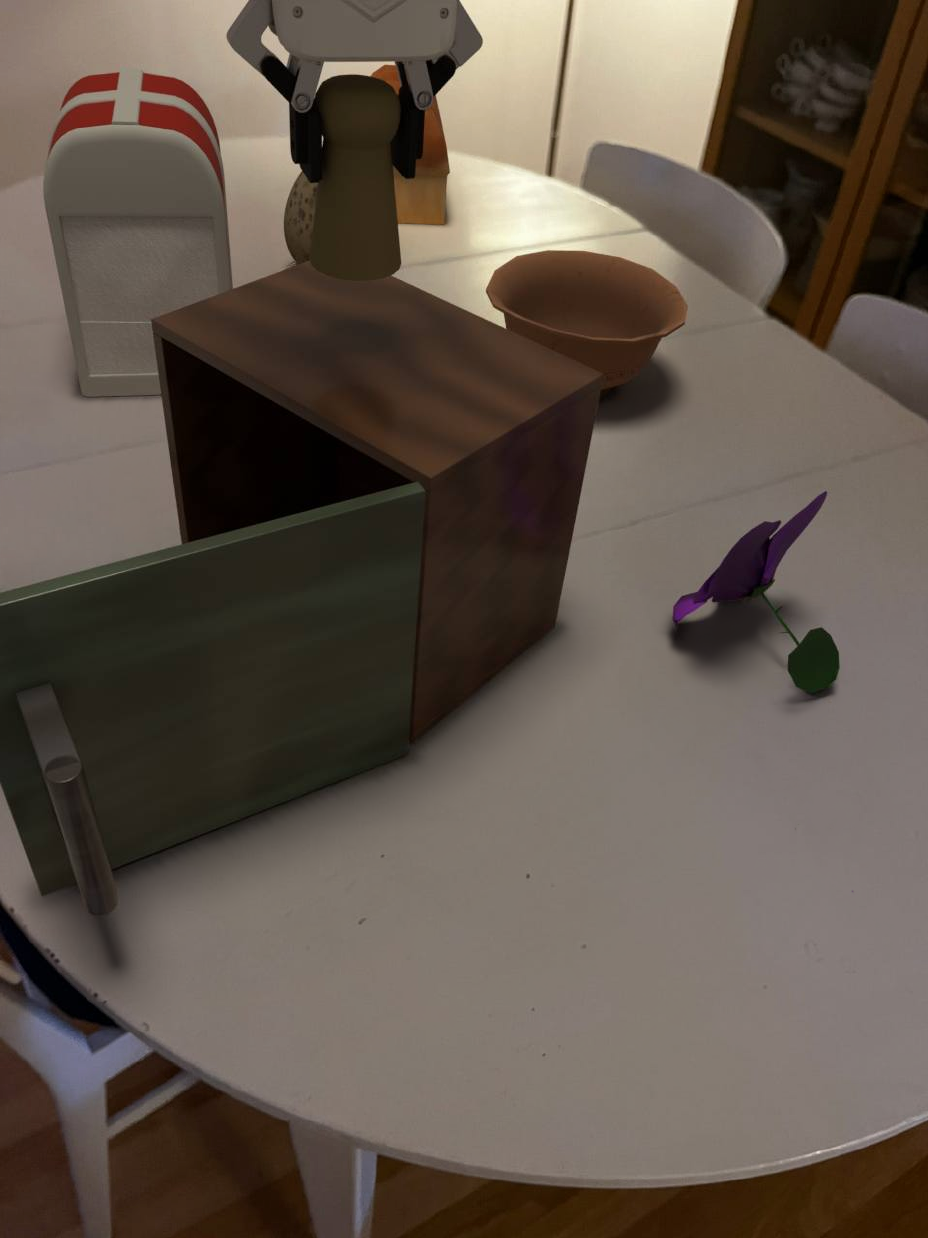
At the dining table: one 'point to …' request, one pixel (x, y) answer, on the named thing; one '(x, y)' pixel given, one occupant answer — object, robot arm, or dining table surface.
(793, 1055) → the dining table surface
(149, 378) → the white box red top
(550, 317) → the bowl
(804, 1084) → the dining table surface
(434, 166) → the bread
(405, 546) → the cupboard door
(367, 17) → the robot arm
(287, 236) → the decorative egg
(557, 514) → the cupboard
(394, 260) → the brown rounded tall piece
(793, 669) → the flower
